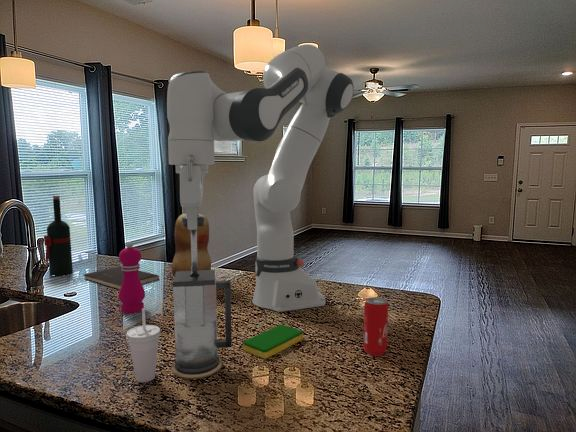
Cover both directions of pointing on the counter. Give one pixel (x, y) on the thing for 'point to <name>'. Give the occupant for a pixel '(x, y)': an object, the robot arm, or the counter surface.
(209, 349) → the press carafe
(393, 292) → the counter surface
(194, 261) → the plunger
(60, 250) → the wine bottle
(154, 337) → the smoothie
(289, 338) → the dish sponge
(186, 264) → the butternut squash
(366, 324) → the beverage can
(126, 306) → the pepper mill
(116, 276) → the hardcover book
